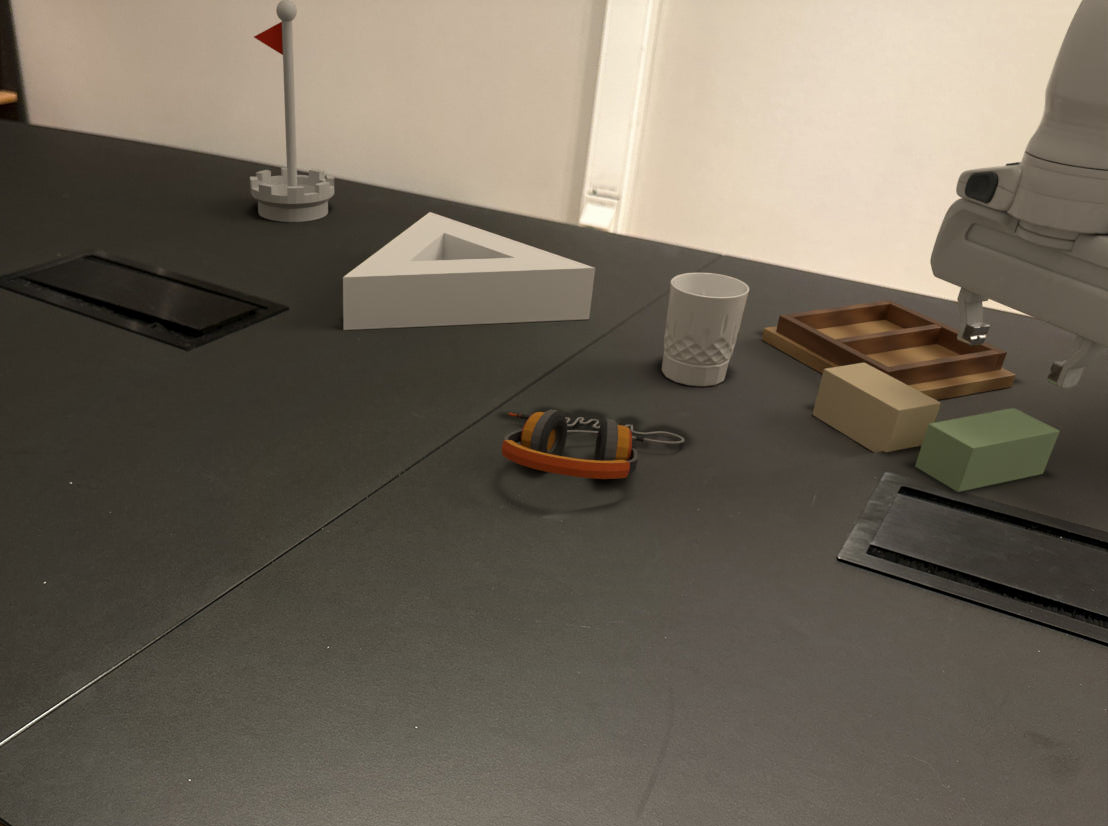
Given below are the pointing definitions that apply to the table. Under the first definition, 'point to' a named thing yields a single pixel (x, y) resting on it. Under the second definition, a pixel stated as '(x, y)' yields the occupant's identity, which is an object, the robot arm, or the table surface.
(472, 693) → the table surface
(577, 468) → the headphones
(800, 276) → the table surface
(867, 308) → the wooden tray
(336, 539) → the table surface
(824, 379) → the beige block
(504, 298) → the triangle block
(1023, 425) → the sage block
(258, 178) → the flag stand
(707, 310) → the white cup
